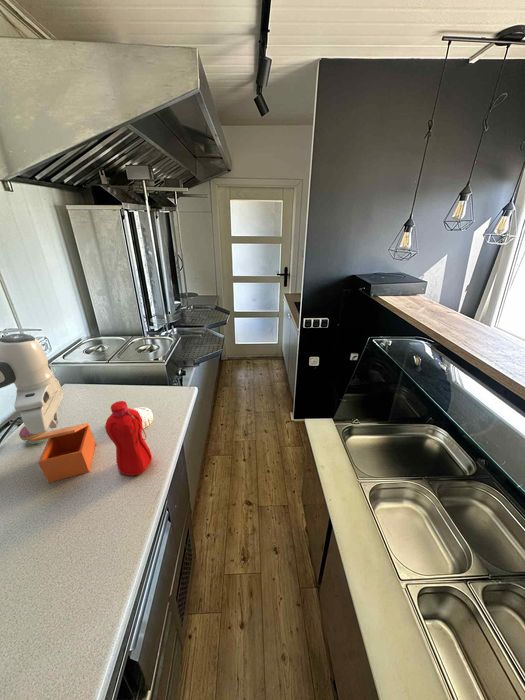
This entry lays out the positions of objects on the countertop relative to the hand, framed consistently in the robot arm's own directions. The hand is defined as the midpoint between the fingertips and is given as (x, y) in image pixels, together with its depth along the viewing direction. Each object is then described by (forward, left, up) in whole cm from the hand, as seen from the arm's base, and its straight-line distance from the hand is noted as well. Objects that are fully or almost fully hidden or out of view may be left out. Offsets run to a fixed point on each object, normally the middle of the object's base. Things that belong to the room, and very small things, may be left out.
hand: (55, 425), depth 88 cm
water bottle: (+21, -8, -18) cm, 29 cm away
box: (0, +2, -18) cm, 18 cm away
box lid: (0, +2, -5) cm, 6 cm away
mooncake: (+20, +16, -18) cm, 31 cm away
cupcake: (-15, +19, -18) cm, 30 cm away
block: (0, -1, -17) cm, 17 cm away
